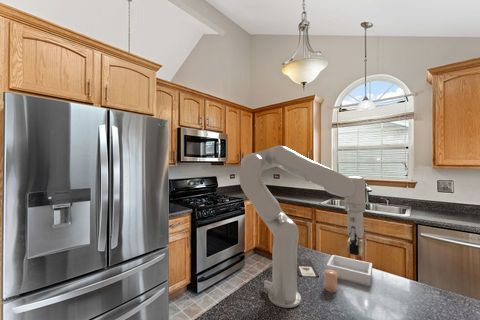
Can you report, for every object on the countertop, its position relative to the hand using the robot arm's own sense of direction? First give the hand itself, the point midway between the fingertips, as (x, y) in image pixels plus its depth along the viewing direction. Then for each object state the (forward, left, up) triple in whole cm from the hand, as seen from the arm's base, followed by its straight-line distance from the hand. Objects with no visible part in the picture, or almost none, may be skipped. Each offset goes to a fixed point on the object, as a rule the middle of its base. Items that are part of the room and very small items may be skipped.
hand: (355, 251), depth 92 cm
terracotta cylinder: (-9, -1, -18) cm, 20 cm away
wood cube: (0, 0, -1) cm, 1 cm away
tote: (-4, +17, -18) cm, 25 cm away
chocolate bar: (-24, +12, -18) cm, 33 cm away
